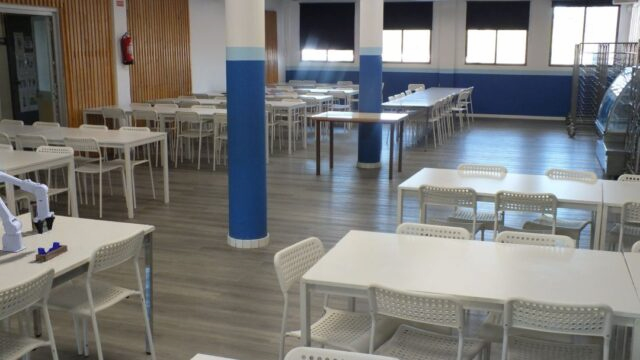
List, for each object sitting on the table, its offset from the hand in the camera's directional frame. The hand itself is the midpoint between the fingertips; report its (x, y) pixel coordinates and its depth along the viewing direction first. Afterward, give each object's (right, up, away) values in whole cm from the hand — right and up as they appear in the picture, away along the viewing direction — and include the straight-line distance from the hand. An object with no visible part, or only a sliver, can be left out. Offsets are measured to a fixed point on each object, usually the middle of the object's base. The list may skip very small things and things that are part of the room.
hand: (45, 231), depth 353 cm
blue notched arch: (+6, -12, -10) cm, 17 cm away
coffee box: (-17, -2, +36) cm, 40 cm away
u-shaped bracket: (+8, -12, -10) cm, 17 cm away
